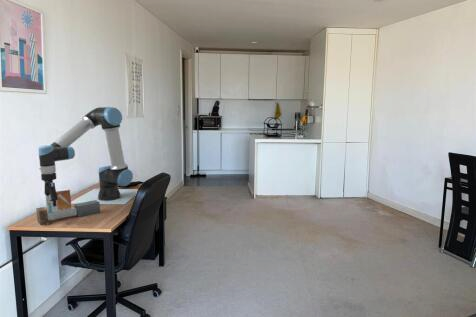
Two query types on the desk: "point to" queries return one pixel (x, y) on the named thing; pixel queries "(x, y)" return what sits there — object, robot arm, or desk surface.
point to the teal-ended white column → (60, 212)
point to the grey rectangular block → (87, 208)
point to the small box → (63, 198)
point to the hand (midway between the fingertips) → (52, 209)
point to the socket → (42, 215)
